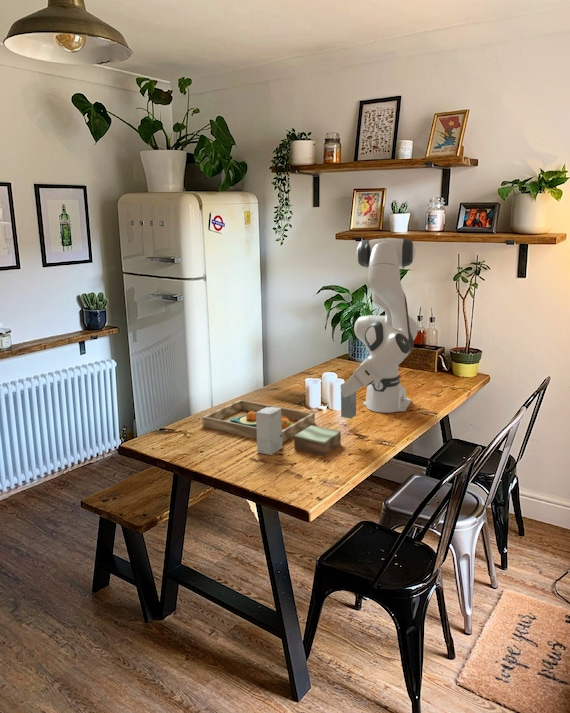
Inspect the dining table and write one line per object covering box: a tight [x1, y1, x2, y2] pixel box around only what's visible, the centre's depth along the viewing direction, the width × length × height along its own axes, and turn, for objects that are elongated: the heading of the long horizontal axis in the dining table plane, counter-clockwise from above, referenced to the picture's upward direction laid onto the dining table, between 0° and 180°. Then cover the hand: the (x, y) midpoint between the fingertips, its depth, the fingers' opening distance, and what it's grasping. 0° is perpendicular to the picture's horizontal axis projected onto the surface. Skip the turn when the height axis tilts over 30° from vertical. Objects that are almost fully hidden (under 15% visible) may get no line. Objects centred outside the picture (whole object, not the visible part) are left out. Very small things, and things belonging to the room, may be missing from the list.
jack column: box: [340, 381, 357, 419], centre depth 217 cm, size 4×4×12 cm
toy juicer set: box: [225, 411, 292, 430], centre depth 236 cm, size 29×18×8 cm, turn 59°
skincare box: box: [256, 407, 283, 456], centre depth 212 cm, size 8×6×15 cm
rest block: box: [293, 424, 342, 457], centre depth 216 cm, size 12×12×5 cm
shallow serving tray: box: [201, 399, 316, 443], centre depth 239 cm, size 25×36×4 cm
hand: (346, 393), depth 217 cm, fingers closed on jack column, 4 cm apart
